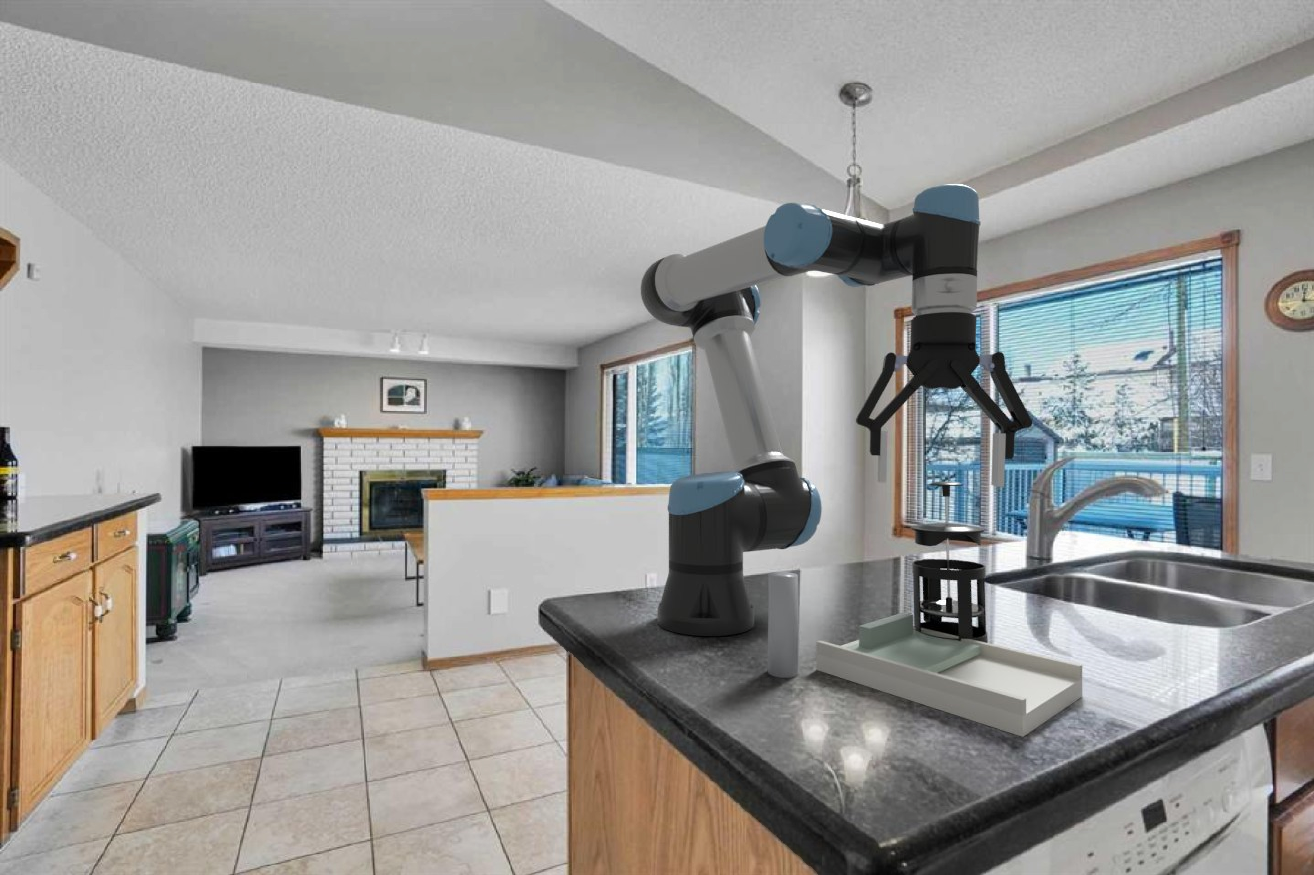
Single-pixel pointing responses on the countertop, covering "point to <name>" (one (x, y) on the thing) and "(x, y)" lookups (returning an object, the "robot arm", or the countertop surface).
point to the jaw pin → (783, 624)
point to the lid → (911, 644)
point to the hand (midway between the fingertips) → (938, 484)
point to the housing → (968, 682)
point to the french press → (936, 572)
